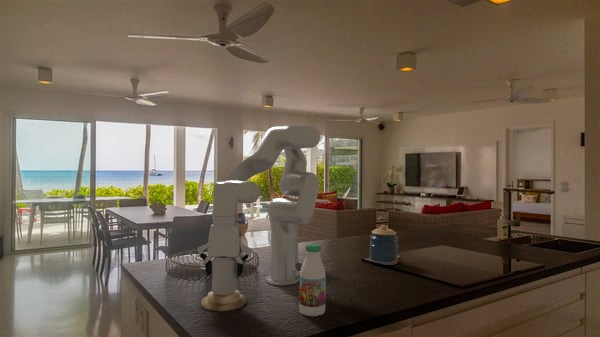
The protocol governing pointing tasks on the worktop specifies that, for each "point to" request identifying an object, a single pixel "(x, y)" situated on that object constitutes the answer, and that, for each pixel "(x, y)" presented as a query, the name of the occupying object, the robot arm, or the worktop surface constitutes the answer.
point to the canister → (383, 245)
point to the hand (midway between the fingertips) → (224, 274)
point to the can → (223, 276)
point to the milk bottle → (312, 283)
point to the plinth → (223, 302)
